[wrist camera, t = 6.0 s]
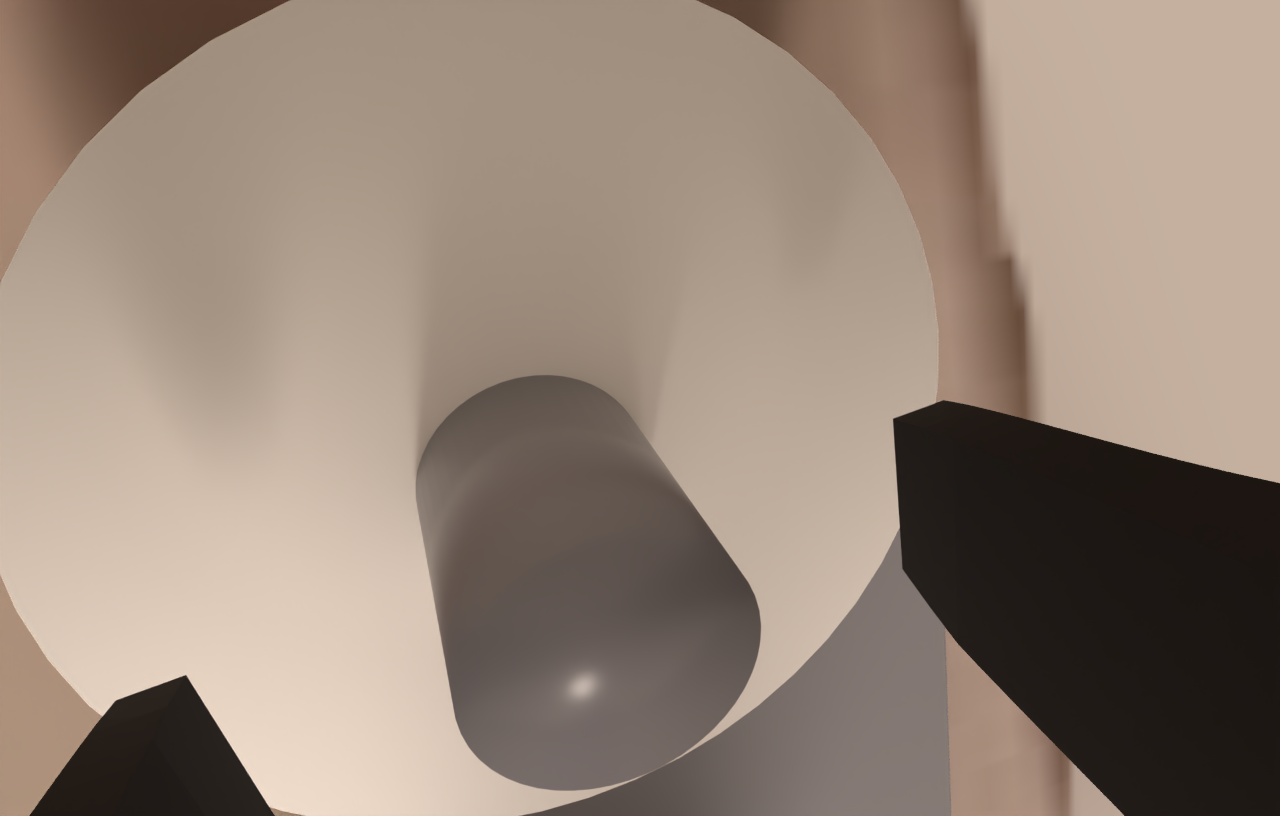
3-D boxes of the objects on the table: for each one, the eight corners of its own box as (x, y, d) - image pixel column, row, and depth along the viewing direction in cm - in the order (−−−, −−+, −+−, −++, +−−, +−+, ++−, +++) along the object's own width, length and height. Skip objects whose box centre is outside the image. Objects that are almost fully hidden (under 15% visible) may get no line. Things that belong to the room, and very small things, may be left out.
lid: (927, 612, 16) (1113, 806, 12) (267, 894, 14) (246, 1235, 10) (873, -151, 10) (1202, -232, 6) (-285, 138, 8) (-824, 277, 4)
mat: (942, 813, 28) (951, 826, 27) (521, 1007, 25) (524, 1025, 25) (926, 448, 21) (939, 458, 21) (350, 663, 18) (350, 678, 18)
